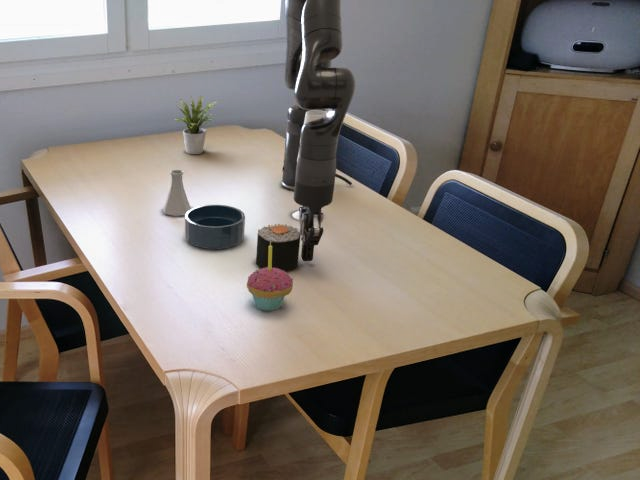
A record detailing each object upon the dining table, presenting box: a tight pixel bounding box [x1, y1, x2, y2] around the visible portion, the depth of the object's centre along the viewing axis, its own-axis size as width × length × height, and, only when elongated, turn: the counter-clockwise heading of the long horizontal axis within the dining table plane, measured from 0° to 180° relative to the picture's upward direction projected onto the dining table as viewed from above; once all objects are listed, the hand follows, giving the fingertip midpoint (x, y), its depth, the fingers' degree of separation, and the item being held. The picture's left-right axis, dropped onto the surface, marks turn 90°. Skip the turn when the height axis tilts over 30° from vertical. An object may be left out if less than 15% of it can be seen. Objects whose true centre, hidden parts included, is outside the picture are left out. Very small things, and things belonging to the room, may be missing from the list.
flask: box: [162, 169, 192, 217], centre depth 165 cm, size 7×7×10 cm
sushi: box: [255, 223, 302, 273], centre depth 139 cm, size 8×8×8 cm
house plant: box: [174, 95, 219, 155], centre depth 202 cm, size 14×14×16 cm
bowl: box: [184, 204, 246, 250], centre depth 152 cm, size 13×13×6 cm
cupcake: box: [246, 241, 294, 312], centre depth 124 cm, size 9×8×12 cm
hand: (306, 259), depth 141 cm, fingers closed
